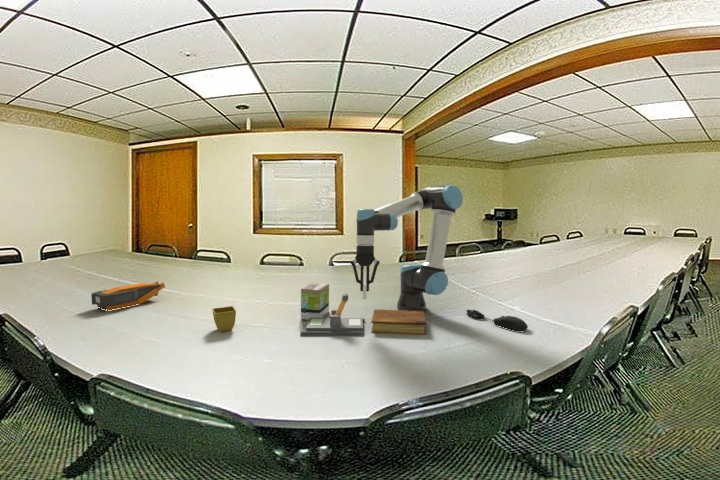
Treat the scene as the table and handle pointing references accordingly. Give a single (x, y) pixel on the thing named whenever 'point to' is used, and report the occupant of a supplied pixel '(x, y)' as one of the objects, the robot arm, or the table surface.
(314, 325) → the breaker panel
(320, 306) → the tea box
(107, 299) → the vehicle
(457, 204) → the robot arm
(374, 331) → the diary
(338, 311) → the lever
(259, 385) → the table surface
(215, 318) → the flower pot
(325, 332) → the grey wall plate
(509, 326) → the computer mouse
